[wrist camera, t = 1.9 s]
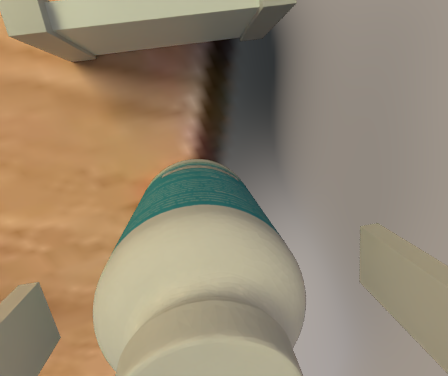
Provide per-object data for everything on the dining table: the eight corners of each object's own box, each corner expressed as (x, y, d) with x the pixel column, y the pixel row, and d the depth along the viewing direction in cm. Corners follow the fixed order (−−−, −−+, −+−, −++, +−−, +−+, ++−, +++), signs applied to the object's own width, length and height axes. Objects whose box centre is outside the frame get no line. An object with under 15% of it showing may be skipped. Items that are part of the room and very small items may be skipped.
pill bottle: (122, 190, 18) (-57, 393, 5) (217, 136, 18) (287, 205, 5) (179, 272, 20) (158, 557, 7) (265, 225, 20) (401, 435, 7)
